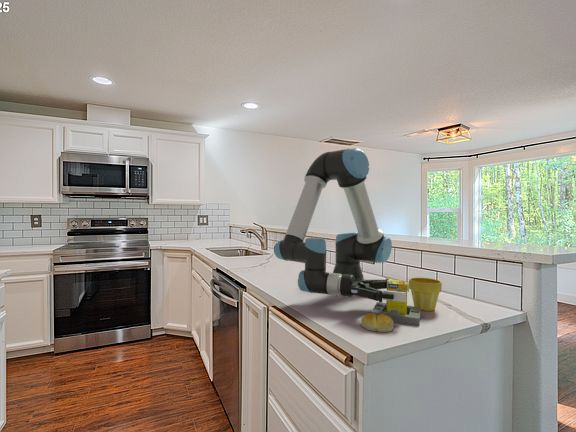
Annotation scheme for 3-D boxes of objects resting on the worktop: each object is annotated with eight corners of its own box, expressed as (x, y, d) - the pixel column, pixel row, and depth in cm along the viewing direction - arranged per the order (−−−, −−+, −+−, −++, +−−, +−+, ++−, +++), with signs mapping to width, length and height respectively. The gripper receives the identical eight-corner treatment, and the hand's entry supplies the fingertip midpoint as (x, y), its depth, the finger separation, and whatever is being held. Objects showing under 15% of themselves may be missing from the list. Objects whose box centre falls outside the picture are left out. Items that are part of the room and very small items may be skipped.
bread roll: (363, 321, 96) (363, 308, 96) (394, 325, 93) (394, 312, 93) (358, 330, 89) (358, 316, 89) (391, 335, 85) (391, 320, 85)
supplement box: (407, 319, 97) (407, 284, 97) (387, 317, 99) (387, 283, 99) (405, 313, 103) (405, 280, 103) (386, 312, 105) (386, 279, 104)
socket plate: (377, 307, 109) (377, 301, 109) (420, 313, 103) (420, 306, 103) (370, 318, 98) (370, 311, 98) (419, 325, 92) (419, 317, 92)
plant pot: (428, 302, 115) (428, 276, 115) (448, 311, 105) (448, 282, 105) (402, 304, 113) (403, 277, 113) (420, 313, 103) (421, 284, 103)
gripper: (350, 287, 120) (410, 294, 111) (331, 305, 97) (404, 315, 88) (350, 268, 119) (410, 273, 111) (331, 281, 97) (404, 289, 88)
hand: (407, 292), depth 99 cm, fingers open, 13 cm apart
